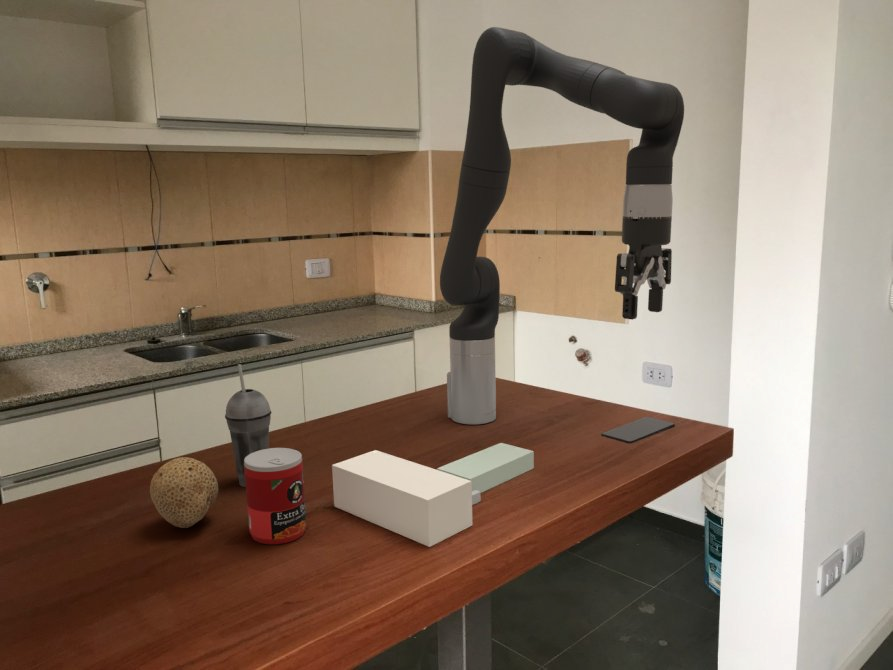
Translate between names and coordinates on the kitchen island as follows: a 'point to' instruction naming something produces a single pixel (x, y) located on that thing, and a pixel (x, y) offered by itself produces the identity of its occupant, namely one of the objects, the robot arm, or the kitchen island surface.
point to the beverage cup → (247, 424)
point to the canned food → (275, 495)
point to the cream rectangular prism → (404, 496)
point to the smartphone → (638, 429)
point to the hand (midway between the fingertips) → (642, 315)
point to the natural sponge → (183, 491)
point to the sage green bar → (491, 466)
